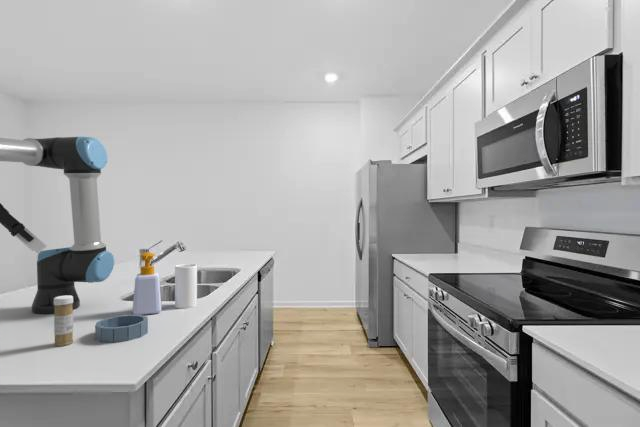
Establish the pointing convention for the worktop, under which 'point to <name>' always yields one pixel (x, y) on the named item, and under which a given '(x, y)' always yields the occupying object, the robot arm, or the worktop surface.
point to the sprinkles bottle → (63, 320)
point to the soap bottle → (147, 289)
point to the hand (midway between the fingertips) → (39, 248)
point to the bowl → (121, 328)
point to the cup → (185, 286)
